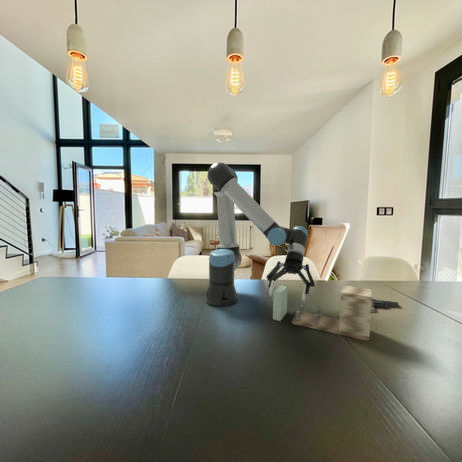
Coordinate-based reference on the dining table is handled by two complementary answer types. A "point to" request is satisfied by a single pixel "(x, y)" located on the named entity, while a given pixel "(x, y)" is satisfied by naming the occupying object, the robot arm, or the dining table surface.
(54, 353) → the dining table surface
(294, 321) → the wooden rack
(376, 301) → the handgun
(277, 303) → the pale green block
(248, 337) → the dining table surface
